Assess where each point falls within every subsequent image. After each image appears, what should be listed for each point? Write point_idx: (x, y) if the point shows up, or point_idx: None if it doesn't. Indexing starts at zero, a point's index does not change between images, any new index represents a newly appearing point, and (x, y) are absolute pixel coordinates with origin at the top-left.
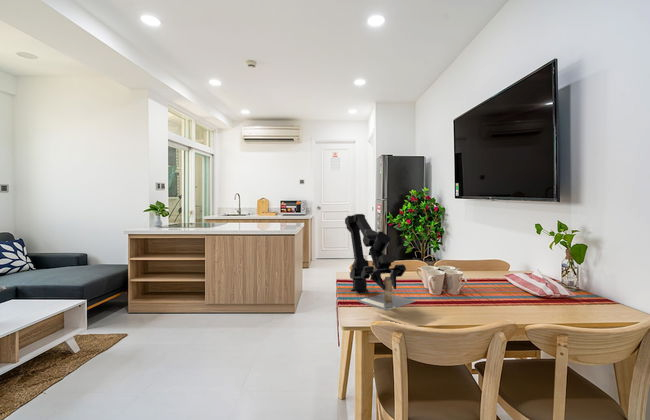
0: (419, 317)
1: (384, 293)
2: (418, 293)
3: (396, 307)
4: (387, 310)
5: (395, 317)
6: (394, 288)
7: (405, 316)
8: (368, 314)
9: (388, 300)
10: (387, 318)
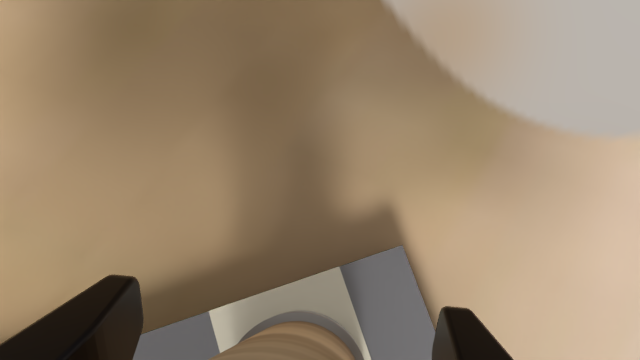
0: (115, 43)
1: None
2: None
3: (200, 319)
4: (388, 253)
5: (356, 129)
6: (137, 331)
7: (233, 117)
8: (621, 335)
9: (325, 330)
10: (458, 134)
